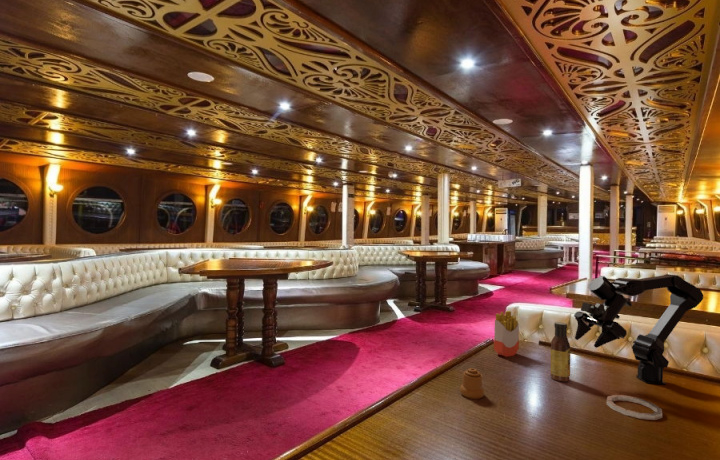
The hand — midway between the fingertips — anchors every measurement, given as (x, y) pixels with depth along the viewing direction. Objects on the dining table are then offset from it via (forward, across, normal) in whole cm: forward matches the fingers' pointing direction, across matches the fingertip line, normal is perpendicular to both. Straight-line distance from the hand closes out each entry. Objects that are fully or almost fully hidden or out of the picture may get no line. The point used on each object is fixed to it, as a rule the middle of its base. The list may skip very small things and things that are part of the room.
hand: (585, 342), depth 135 cm
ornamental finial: (+39, +7, -27) cm, 47 cm away
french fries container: (+18, -31, -1) cm, 36 cm away
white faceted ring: (+11, +20, +9) cm, 24 cm away
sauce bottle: (+15, -4, +3) cm, 16 cm away
